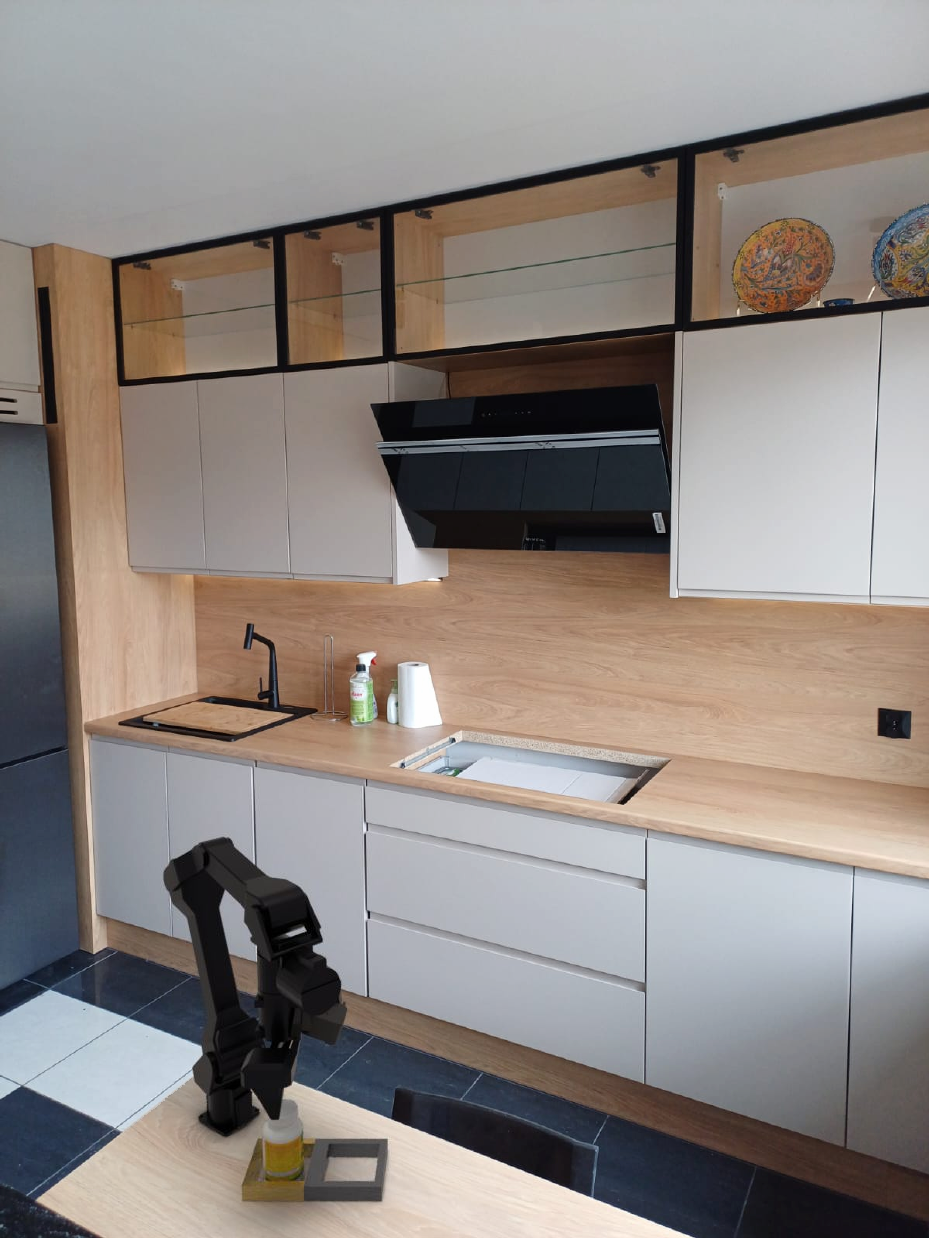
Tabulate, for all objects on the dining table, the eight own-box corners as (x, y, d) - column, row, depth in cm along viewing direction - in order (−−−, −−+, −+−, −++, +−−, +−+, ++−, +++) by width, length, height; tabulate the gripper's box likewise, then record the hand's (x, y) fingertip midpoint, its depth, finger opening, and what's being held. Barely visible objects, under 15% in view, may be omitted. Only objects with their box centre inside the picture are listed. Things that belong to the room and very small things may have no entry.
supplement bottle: (258, 1169, 118) (256, 1102, 118) (296, 1155, 121) (295, 1090, 120) (270, 1195, 114) (268, 1126, 113) (309, 1180, 116) (308, 1112, 116)
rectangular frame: (241, 1200, 113) (241, 1186, 113) (258, 1151, 122) (257, 1138, 122) (381, 1201, 113) (381, 1186, 113) (387, 1151, 122) (387, 1138, 122)
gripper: (330, 1022, 105) (332, 1144, 107) (351, 949, 124) (352, 1054, 125) (237, 1022, 105) (241, 1144, 107) (272, 950, 124) (274, 1054, 125)
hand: (282, 1096), depth 116 cm, fingers open, 9 cm apart
